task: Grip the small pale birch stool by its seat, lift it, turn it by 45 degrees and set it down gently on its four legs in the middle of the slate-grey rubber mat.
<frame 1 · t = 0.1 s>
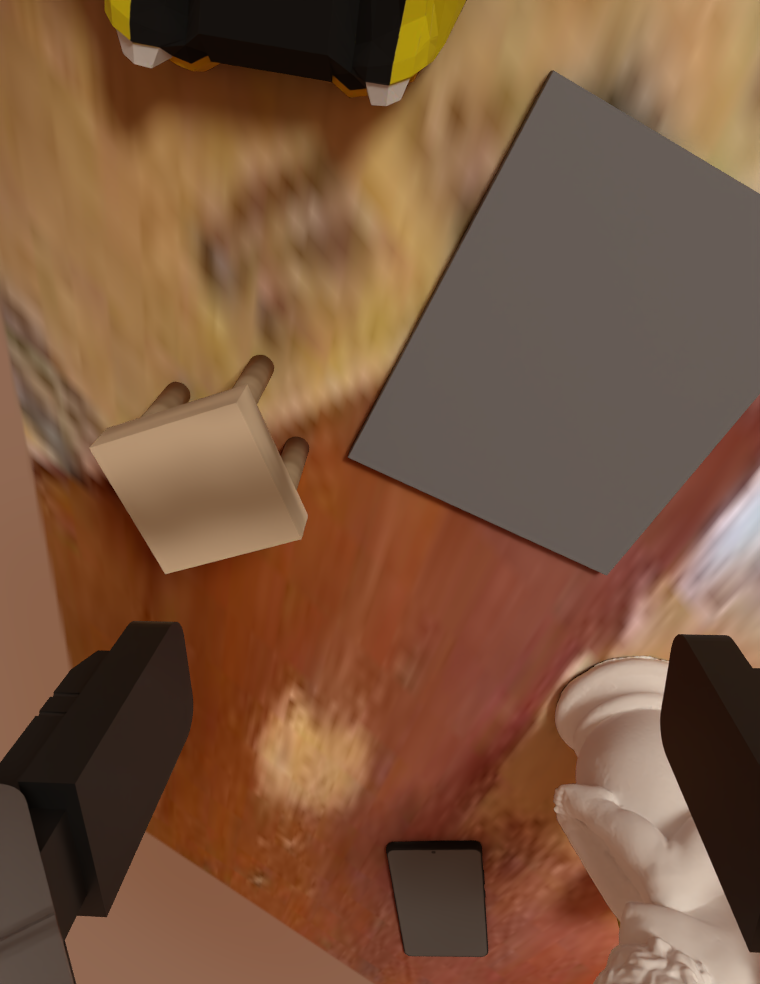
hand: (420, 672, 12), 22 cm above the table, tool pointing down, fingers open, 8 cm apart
mat: (582, 363, 32), on the table
smartphone: (440, 893, 55), on the table
cherub figurine: (649, 686, 42), on the table
stool: (238, 421, 34), on the table
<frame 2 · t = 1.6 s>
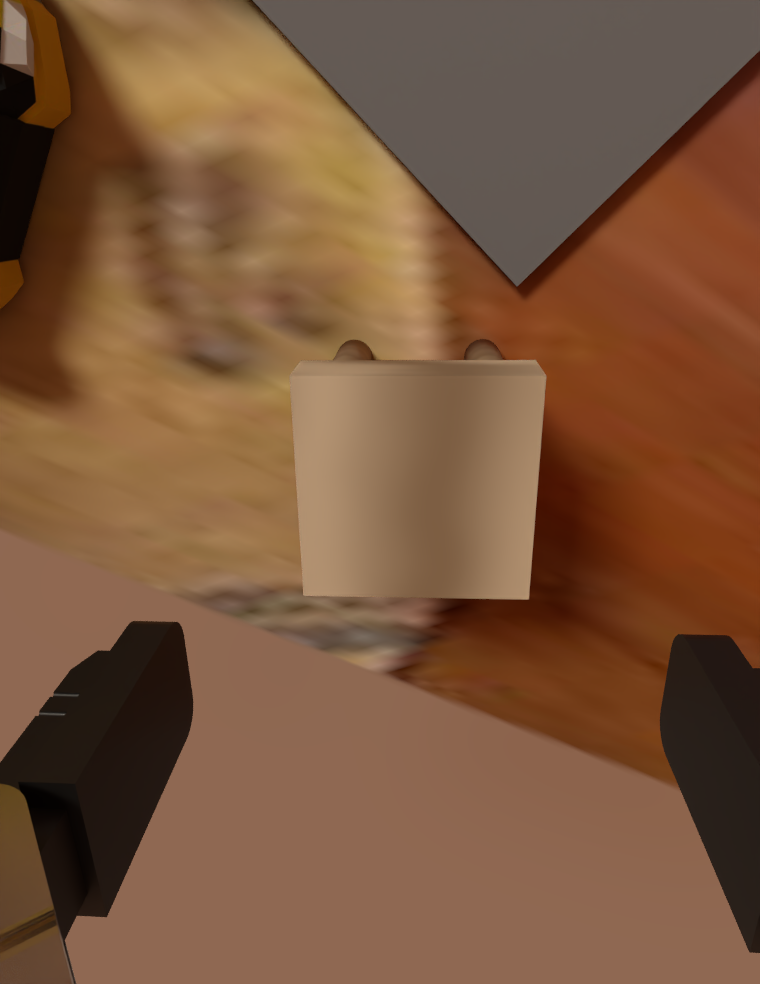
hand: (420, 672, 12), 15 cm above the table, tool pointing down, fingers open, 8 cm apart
stool: (417, 418, 25), on the table
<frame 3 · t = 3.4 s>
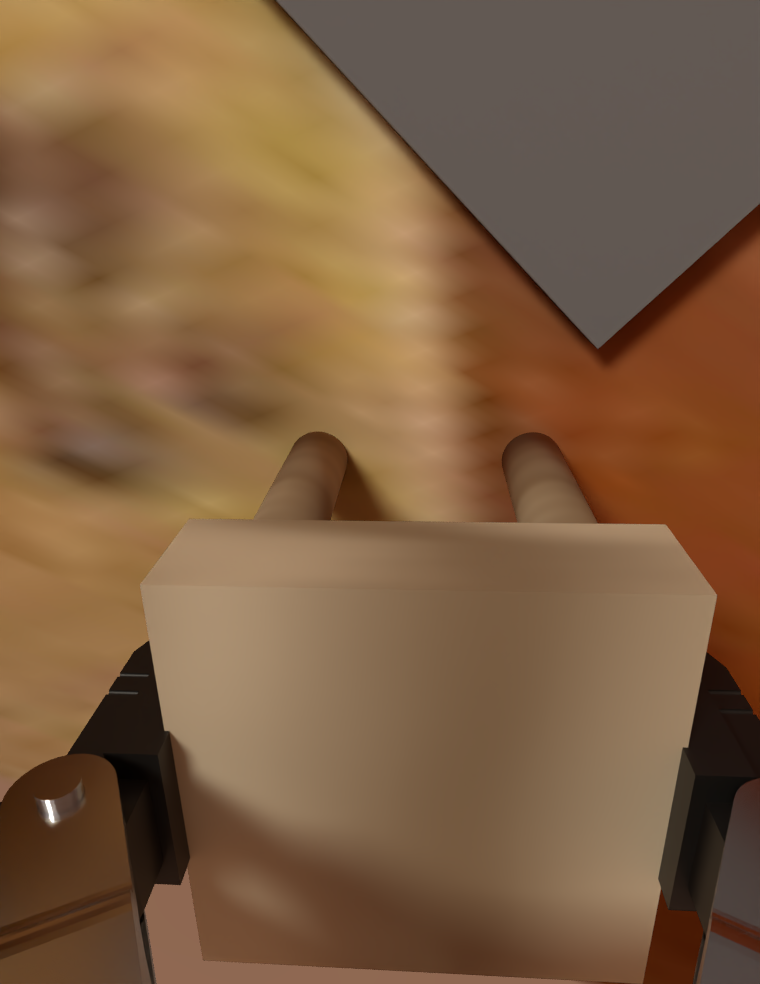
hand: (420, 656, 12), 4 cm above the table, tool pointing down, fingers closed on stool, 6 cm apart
stool: (423, 553, 16), on the table, touching gripper
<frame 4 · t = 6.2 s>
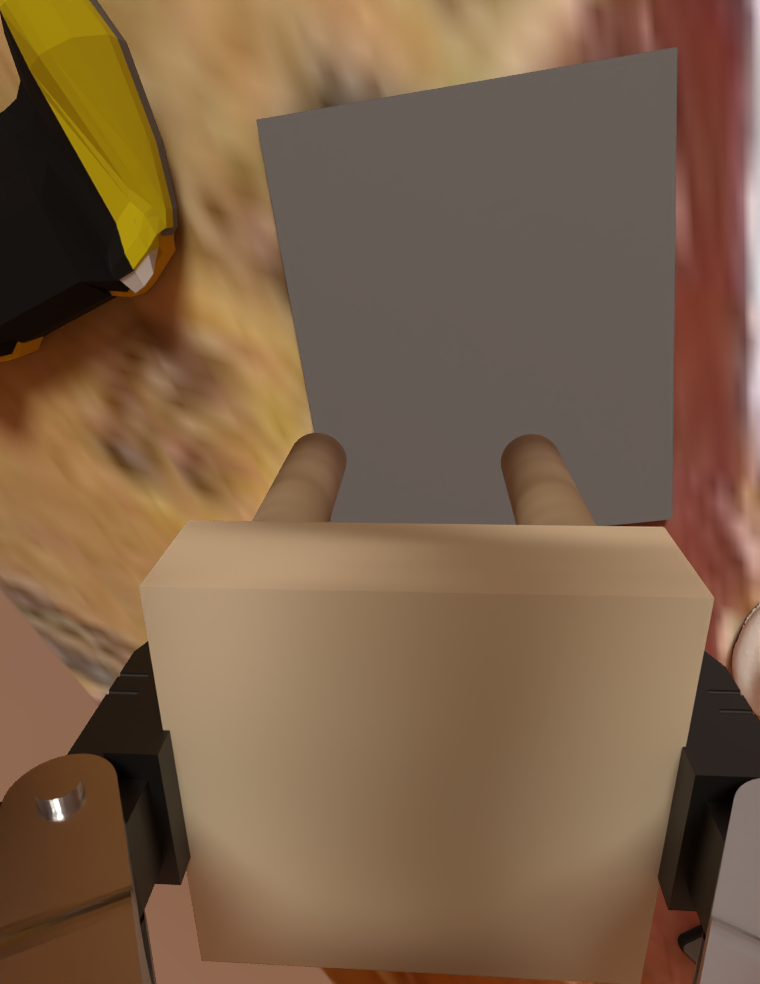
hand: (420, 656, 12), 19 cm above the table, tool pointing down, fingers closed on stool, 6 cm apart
mat: (481, 334, 29), on the table
gaming controller: (30, 207, 29), on the table
stool: (422, 554, 16), point 16 cm above the table, touching gripper
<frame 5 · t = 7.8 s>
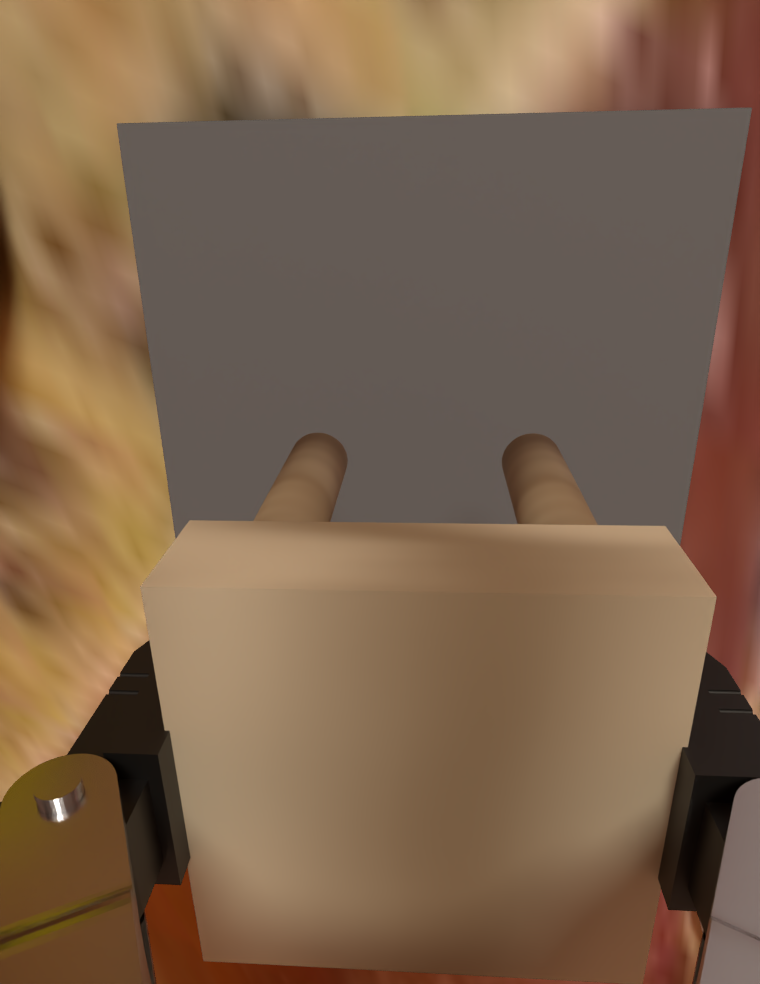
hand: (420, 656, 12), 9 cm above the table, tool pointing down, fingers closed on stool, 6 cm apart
mat: (422, 463, 21), on the table
stool: (423, 554, 16), point 6 cm above the table, touching gripper
when the fingers open (6 cm above the table, at t = 9.1 s): stool drops 1 cm, resting on mat.
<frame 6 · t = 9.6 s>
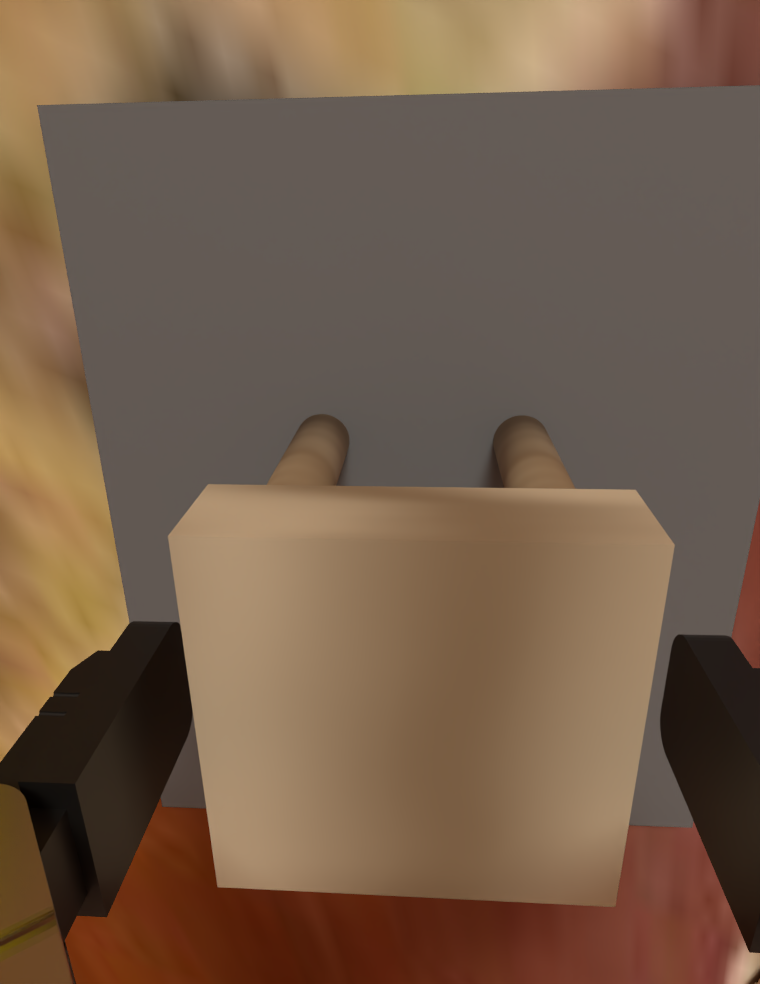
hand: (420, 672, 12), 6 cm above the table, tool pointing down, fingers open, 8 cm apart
mat: (423, 519, 17), on the table
stool: (419, 529, 17), point 1 cm above the table, touching mat
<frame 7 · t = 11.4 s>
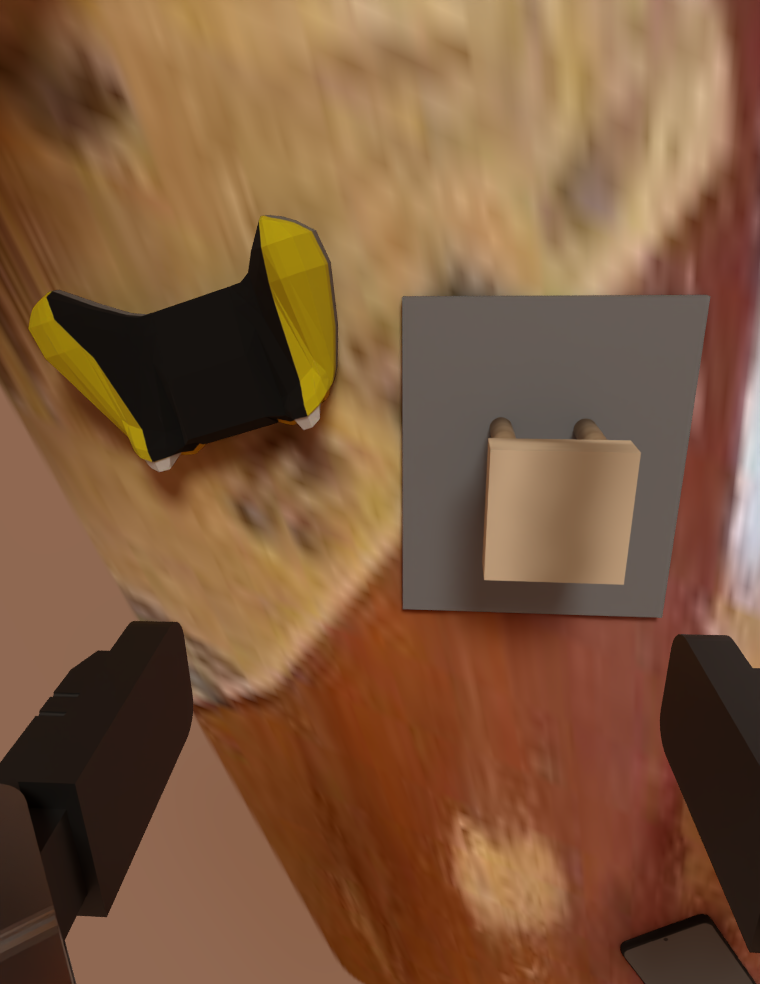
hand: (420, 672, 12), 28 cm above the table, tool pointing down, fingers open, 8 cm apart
mat: (539, 464, 39), on the table
smartphone: (704, 983, 53), on the table
gaming controller: (221, 343, 38), on the table
stool: (539, 468, 38), point 1 cm above the table, touching mat
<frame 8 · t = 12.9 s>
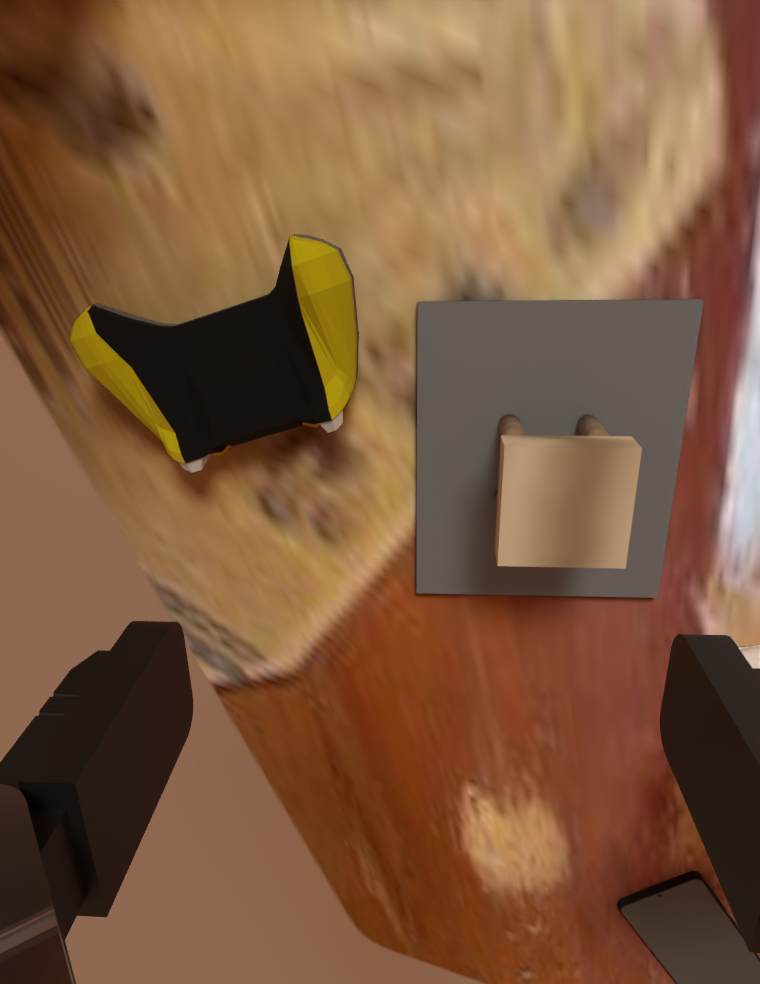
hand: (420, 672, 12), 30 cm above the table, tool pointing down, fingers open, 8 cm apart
mat: (544, 457, 42), on the table
smartphone: (695, 936, 57), on the table
cherub figurine: (758, 672, 47), on the table
gaming controller: (247, 350, 41), on the table
stool: (545, 460, 41), point 1 cm above the table, touching mat
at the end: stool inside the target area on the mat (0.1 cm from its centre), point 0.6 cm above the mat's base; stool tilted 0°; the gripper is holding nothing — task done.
